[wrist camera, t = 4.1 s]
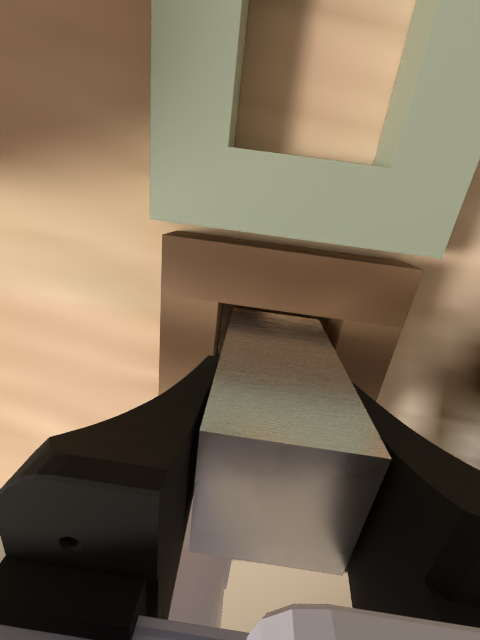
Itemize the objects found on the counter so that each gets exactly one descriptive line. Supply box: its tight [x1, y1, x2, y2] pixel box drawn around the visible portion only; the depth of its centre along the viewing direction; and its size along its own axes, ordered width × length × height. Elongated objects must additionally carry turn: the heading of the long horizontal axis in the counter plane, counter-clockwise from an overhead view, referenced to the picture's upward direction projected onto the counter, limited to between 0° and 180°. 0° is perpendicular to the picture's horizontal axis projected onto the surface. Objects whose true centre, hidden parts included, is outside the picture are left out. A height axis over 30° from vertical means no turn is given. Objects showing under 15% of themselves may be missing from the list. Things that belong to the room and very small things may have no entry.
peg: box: [188, 308, 391, 575], centre depth 10 cm, size 4×4×8 cm
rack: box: [150, 0, 480, 259], centre depth 10 cm, size 11×11×2 cm
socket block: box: [159, 231, 423, 401], centre depth 14 cm, size 10×10×2 cm
